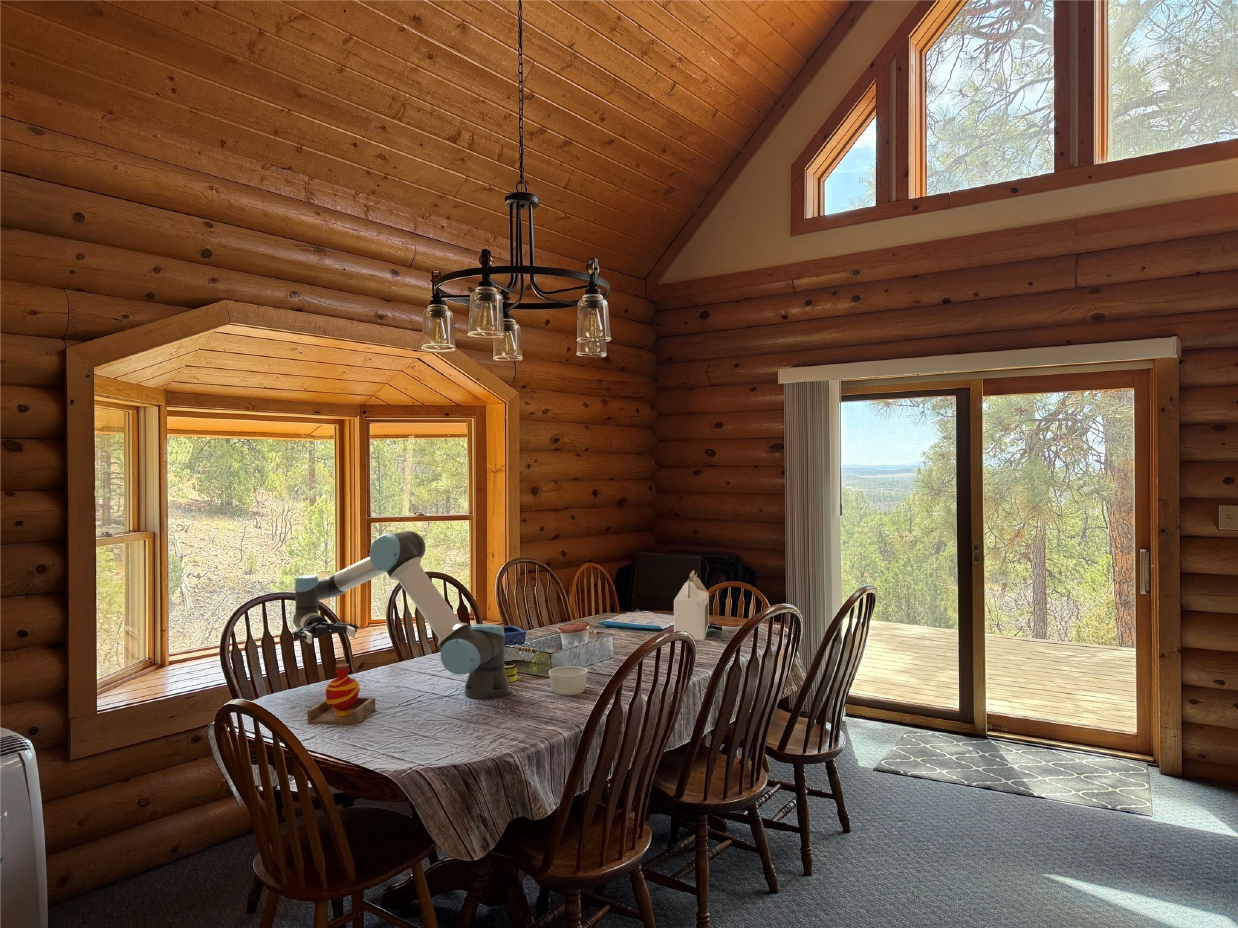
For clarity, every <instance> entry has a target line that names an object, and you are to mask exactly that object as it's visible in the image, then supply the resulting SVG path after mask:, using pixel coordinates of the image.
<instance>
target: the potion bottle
mask: <svg viewBox="0 0 1238 928" xmlns="http://www.w3.org/2000/svg"><path fill="white" fill-rule="evenodd" d="M349 667H350V663H339V664H337V663H336V665H335V668H336V669H335V671H334V673H336V674H337V677H335V678H334V679H332V680H331V681H330V682H329V683H328V685H327V686H326V688H325V699H326V703H327V704H329V705H330V706H331V707H332V708H333V709H335V710H336V712H335V714H334V715H336V716H346V715H349V714H351V711H350V708H351V707H352V706H353V705H354V703H355V702H356V700H357V698H358V697H359V694H360V693H359V692H361V688H360V684H359V682H358V681H357V679H356V678H352V677H350V675H348V673H349V672H350V670H351V669H350V668H349Z"/></svg>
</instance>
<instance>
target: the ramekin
mask: <svg viewBox="0 0 1238 928" xmlns="http://www.w3.org/2000/svg"><path fill="white" fill-rule="evenodd" d="M587 676H588V669H587V668H585V667H582V666H573V665H571V666H570V665H564V666H558V667H554V668H552V669H550V670H549V671H548V677H549V683H550V689H551V690H552V691H551V692H553V693H554V694H556V695H560V696H573V695H574V696H575V695H579V694H582V693H583V692H584V691H585V690H586V686H587V678H588V677H587Z"/></svg>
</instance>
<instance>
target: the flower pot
mask: <svg viewBox="0 0 1238 928" xmlns="http://www.w3.org/2000/svg"><path fill="white" fill-rule="evenodd" d="M502 627H503V628H504V635H505V638H504V647H505V645H516V644H518V645H522V644H524V645H525V643H526V639H527V638H526V637H527V632H526V630H524V629H522V628H520V627H518V626H516V625H505V626H502Z"/></svg>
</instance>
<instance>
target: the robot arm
mask: <svg viewBox="0 0 1238 928" xmlns="http://www.w3.org/2000/svg"><path fill="white" fill-rule="evenodd" d="M425 553H426V542H425V540H424V538H423V537H422V536H421V534H420V533H419V534H418V533H417V532H415V531H411V530H406V531H400V532H399V531H398V532H393V533H390V532H389V533H384V534H381V535H380V536H378V537H377V538H376V537H375V539H374V540H373V541H372V543H371V545H370V548H369V557H366V558H364V559H362V560H360V561H358V562H356V563H354V564H352V565H350V566H347V567H346V568H343V569H341V570H339V571H337V572H335V573H333V574H331V575H329V576H327V577H326V576H325V577H322V578H319V577H318V575H314V574H307V575H306V574H305V575H300V576H297V577H296V578H295V584H294V585H295V586H294V591H295V592H294V593H295V597H294V598H295V601H294V602H295V604H294V605H295V611H294V613H293V616H292V623H293V625H294V627H295V628H296V629H295V630H294V631H293V632H292V636H293V637H292V638H293V639H292V640H293V641H297V640H298V639H299V643H303V642H304V641H305V642H307V643H308V644H312V643H313V639H319V638H322V637H324V636H325V635H329V634H330V635H333V634H346V635H347V636H349V637H351V638H352V639H353V638H354V639H355V638H356V633H357V632H358V625H357V624H355V623H351V622H350V623H347V622H346V623H345V622H340V621H336V622H329V621H328V619H326V617H324V616H323V615H321V614H320V613H319V601H323V600H326V599H329V598H336V597H339V596H342V595H344V594H345V593H346V592H347V591H349V590H351V589H354V588H355V587H357V586H360V585H362V584H364V583H367V582H368V581H370V580H373V579H374V578H376V577H379V576H381V575H383V574H385V573H386V574H387V576H388V577H389V578H390V580H392V581H397V582H398V583H399V584H400V586H402V588H403V590H404V591H405V592H406V594H407V596H408V597H409V598H410V599H411V601H412V603H413V605H415V607H416V608H417V610H418V611H419V612H420V614H421V616H423V618H424V620H425V621H426V622H427V624H428V625H429V626H430V628H431V629H432V631H433V633H434V634H435V635H436V636H437V638H438V644H437V646H438V648H439V650H440V662H441V664H442V665H443V667H444V668H445V669H446V670H447V671H448V672H450V673H452V674H453V675H459V676H460V675H461V676H462V675H466V674H468V675H467V678H466V681H465V684H464V695H465V696H466V697H468V698H473V699H480V700H484V699H496V698H500V697H505V696H507V695H508V694H509V693H510V691H511V690H510V689H511V688H510V687H511V686H510V683H509V680H508V676H507V673H506V670H505V662H504V638H505V635H504V628H503V627H504V626H502V625H500V624H499V625H498V624H488V623H477V624H471V625H469V623H467V622H466V623H465V622H461V620H460V619H459V618H458V616H457V615H456V613H455V612H454V611H453V609H452V608H451V607H450V605H449V604H448V602H447V601H446V600H445V598H444V597H443V595H442V594H441V593H440V591H439V590H438V588H437V586H436V585H435V584H434V583H433V582H432V580H431V578H430V577H429V575H427V573H426V571H425V570H424V569H423V568H422V566H421V562H422V559H423V557H424V556H425ZM312 638H313V639H312Z"/></svg>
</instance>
